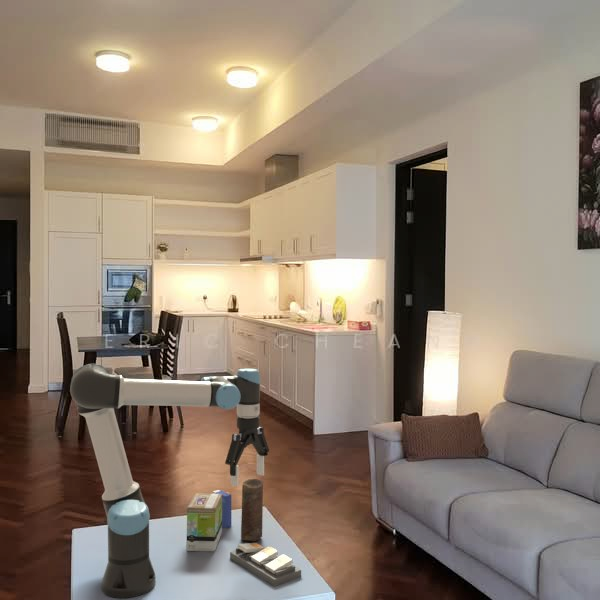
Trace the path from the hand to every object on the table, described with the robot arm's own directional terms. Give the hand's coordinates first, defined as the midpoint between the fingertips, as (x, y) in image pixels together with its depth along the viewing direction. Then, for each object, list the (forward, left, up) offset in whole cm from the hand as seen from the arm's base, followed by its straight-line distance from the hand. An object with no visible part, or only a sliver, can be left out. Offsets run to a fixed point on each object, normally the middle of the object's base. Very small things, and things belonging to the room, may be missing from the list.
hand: (247, 479), depth 209 cm
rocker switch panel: (-3, -13, -24) cm, 27 cm away
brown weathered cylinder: (+6, +7, -24) cm, 25 cm away
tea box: (-8, +15, -24) cm, 29 cm away
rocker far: (-3, -6, -20) cm, 21 cm away
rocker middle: (-3, -13, -20) cm, 24 cm away
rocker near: (-3, -21, -20) cm, 29 cm away
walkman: (+5, +25, -24) cm, 35 cm away
